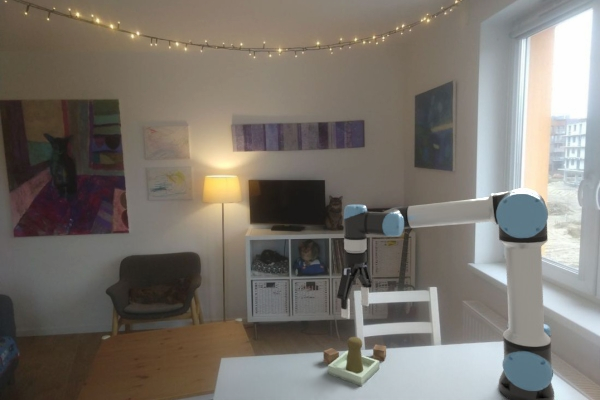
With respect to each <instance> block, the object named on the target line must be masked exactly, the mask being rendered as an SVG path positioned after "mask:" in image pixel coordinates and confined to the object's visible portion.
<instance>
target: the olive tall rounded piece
mask: <svg viewBox="0 0 600 400" xmlns="http://www.w3.org/2000/svg"><path fill="white" fill-rule="evenodd" d="M346 345H347V348H348V349H347V351H348V356H347V364H346V370H347V371H350V372H353V373H356V374H357V373H361V372H362V371H363V363H362V356H363V355H362V347H363V341H362V339H361V338H359V337H358V336H351V337H349V338H348V339H347V341H346Z"/></svg>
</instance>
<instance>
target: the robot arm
mask: <svg viewBox="0 0 600 400" xmlns="http://www.w3.org/2000/svg"><path fill="white" fill-rule="evenodd" d="M548 211H549V210H548V207H547V205H546V201H545V200H544V198H543V197H542V195H541V194H539V193H538V192H537V191H535V190H534V189H533V190H532V189H530V188H525V187H523V188H521V187H520V188H516V189H512V190H508V191H503V192H498V193H491V194H490V195H489V196H488V197H482V198H480V197H479V198H472V199H465V200H464V199H463V200H455V201H454V200H453V201H446V202H437V203H436V202H434V203H428V204H418V205H409V206H394V207H391V208H389V209H387V210H384V211H381V212H380V211H369V210H368V208H367V206H366V205H365V204H361V203H360V204H354V203H353V204H347V205H346V206H344V211H343V234H344V235H343V238H344V239H343V243H344V247H343V249H344V253H343V256H344V257H343V261H344V262H345V263H346V264H347V267H346V268H345V267H343V268H341V277H340V282H339V285H338V290H337V295H336V298H337V299H340V306H341V308H340V311H341V314H340V315H341V317H340V318H344V319H347V320H349V319H350V318H351V315H350V312H351V311H350V307H351V306H350V303H351V302H350V298H349V297H350V294H351V291H352V289H353V285H354V282H356V280H357V279H358V280H359V283H361V286H360V305H361V306H366V307H369V305H370V303H369V302H370V299H369V298H370V293H369V292H370V288H372V287H373V286H372V284H373V280H372V279H373V278H372V276H371V272H370V268H369V261H368V260H367V255H368V254H367V253H368V252H367V251H366V250H367V249H368V248H367V247H368V245H367V243H368V241H367V240H368V239H367V237H368V236H367V235H372V236H373V235H374V236H383V237H390V238H392V237H401V236H402V235H403V232H404V230H405V229H414V228H427V227H429V228H430V227H436V226H437V227H440V226H451V225H466V224H477V223H479V224H480V223H489V222H490V223H493V224H494V225H498V238H499V239H498V240H499V241H500V243H502V244H503V245H504V246H505V266H506V268H505V269H506V270H505V271H506V288H507V289H506V291H507V294H506V295H507V315H508V322H507V326H506V330H504V332H503V333H502V337H503V340H502V341H503V360H502V369H503V370H502V372H501V374H500V376H499V380H498V389H499V391H500V393H501V394H502V395H503V396H504V397H506V398H507V399H509V400H555V391H554V388H553V385H552V380H553V377H554V370H553V364H552V363H553V362H552V360H553V359H552V340H551V337H552V332H551V331H552V330H551V327H550V326H549V325H548V324H545V321H544V320H545V318H544V291H543V290H544V289H543V288H544V287H543V261H542V255H543V254H542V247H543V245H545V244H546V243H547V242H548V219H549V213H548Z"/></svg>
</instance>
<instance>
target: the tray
mask: <svg viewBox="0 0 600 400" xmlns="http://www.w3.org/2000/svg"><path fill="white" fill-rule="evenodd" d="M347 356H348V350H346V351H345V352H343V353H342V354H341V355H339V357H338V358H337V359H336V360H334V361H333V362H332V363H331V364H329V365H328V364H327V374H329V376H330V375H331V376H334V377H336V378H339V379H341V380H344V381H347V382H350V383H352V384H354V385H358V386H361V387H362V386H363V385H365V383H367V381H368V380H370V379H371V378H372V377H373V376H374V375H375V373H377V372H378V371H379V370H380V360H375V359H373V357H372V358H371V357H368V356H365V355H362V363H363V371H362V372H361V373H357V374H356V373H353V372H350V371H347V370H346V364H347Z"/></svg>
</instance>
